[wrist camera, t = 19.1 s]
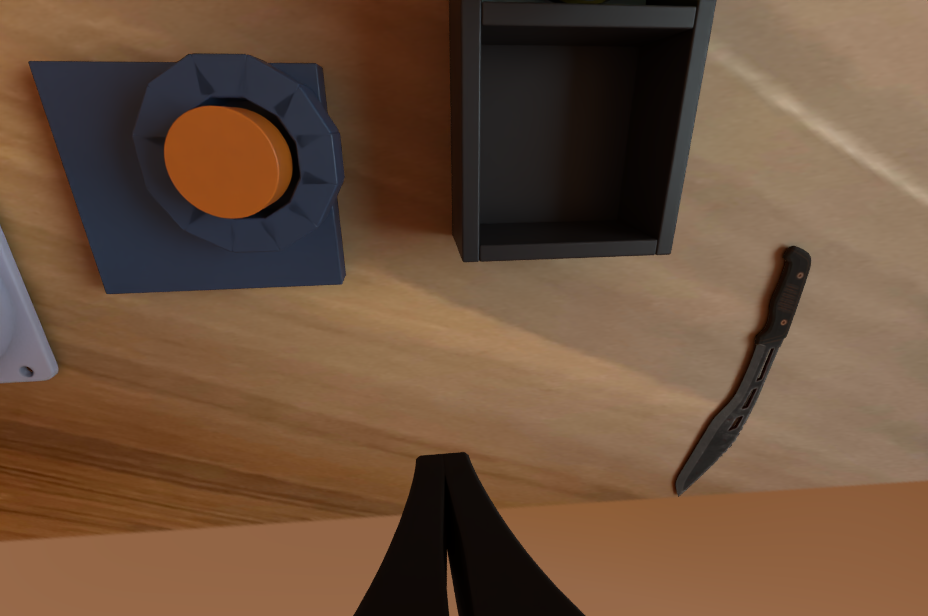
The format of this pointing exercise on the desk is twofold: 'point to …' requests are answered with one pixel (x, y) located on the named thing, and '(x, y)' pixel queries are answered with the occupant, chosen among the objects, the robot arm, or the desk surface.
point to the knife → (751, 370)
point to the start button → (227, 160)
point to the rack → (572, 124)
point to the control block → (159, 202)
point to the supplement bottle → (577, 1)
